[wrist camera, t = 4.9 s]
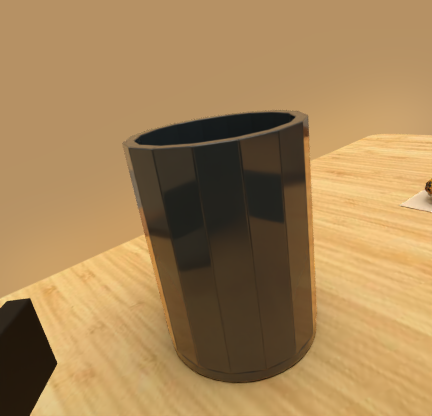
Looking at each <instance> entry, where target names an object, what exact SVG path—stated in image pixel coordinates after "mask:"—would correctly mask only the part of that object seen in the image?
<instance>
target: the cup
mask: <svg viewBox="0 0 432 416" xmlns="http://www.w3.org/2000/svg"><path fill="white" fill-rule="evenodd" d="M123 148H124V152H125V156H126V160H127V165H128V168H129V173H130V177H131V181H132V185H133V188H134V193H135V196H136V201H137V205H138V209H139V213H140V217H141V220H142V225H143V229H144V233H145V237H146V241H147V245H148V249H149V253H150V257H151V261H152V265H153V269H154V273H155V277H156V281H157V285H158V289H159V293H160V297H161V301H162V305H163V310H164V314H165V318H166V322H167V326H168V330H169V333H170V335H171V338H172V341H173V345H174V348H175V350H176V352H177V354H178V356H179V357H180V358H181V360H182V361H183V362H184V363H185V364H186V365H187V366H188V367H190V368H191V369H192V370H194V371H196V372H197V373H199V374H201V375H203V376H206V377H208V378H212V379H215V380H220V381H226V382H251V381H256V380H262V379H265V378H268V377H272V376H274V375H276V374H279V373H281V372H283V371H285V370H287V369H288V368H290V367H292V366H293V365H294V364H295V363H297V362H298V361H299V360H300V359H301V358H302V357H303V356H304V355H305V354H306V352H307V351H308V350H309V348H310V347H311V344H312V342H313V340H314V337H315V333H316V316H317V306H316V283H315V260H314V237H313V215H312V192H311V169H310V147H309V125H308V115H306V114H304V113H302V112H299V111H287V110H271V111H252V112H243V113H233V114H225V115H218V116H212V117H205V118H200V119H194V120H189V121H184V122H179V123H174V124H170V125H166V126H162V127H158V128H155V129H151V130H147V131H144V132H142V133H139V134H136V135H134V136H131V137H130V138H129V139H127V140H126V141H124V142H123Z"/></svg>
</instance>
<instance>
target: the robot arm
mask: <svg viewBox="0 0 432 416" xmlns="http://www.w3.org/2000/svg"><path fill="white" fill-rule="evenodd" d="M56 365H57V361H56V359H55V356H54V354H53V352H52V349H51V347H50V345H49V342H48V340H47V337H46V335H45V333H44V330H43V328H42V326H41V323H40V321H39V318H38V316H37V314H36V311H35V309H34V307H33V304H32V302H31V299H30V298H28V299H20V300H13V301H7V302H6V303H5V304H4V305H3V306H2V307H1V308H0V416H30V414H31V412H32V410H33V408H34V406H35V405H36V403H37V401H38V399H39V397H40V395H41V393H42V391H43V390H44V388H45V386H46V384H47V382H48V380H49V378H50V377H51V375H52V373H53V371H54V369H55V367H56Z"/></svg>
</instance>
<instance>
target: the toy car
mask: <svg viewBox="0 0 432 416" xmlns="http://www.w3.org/2000/svg"><path fill="white" fill-rule="evenodd" d="M400 206H405V207H410V208H415V209H419V210H424V211H429V212H432V179H430V180H429V181H428V182H427V183H426V187H425V189H424V190H423V191H421V192H419V193H418V194H416V195H414V196H413V197H411V198H410V199H408V200H406V201H405V202H403V203H402V204H400Z"/></svg>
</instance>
